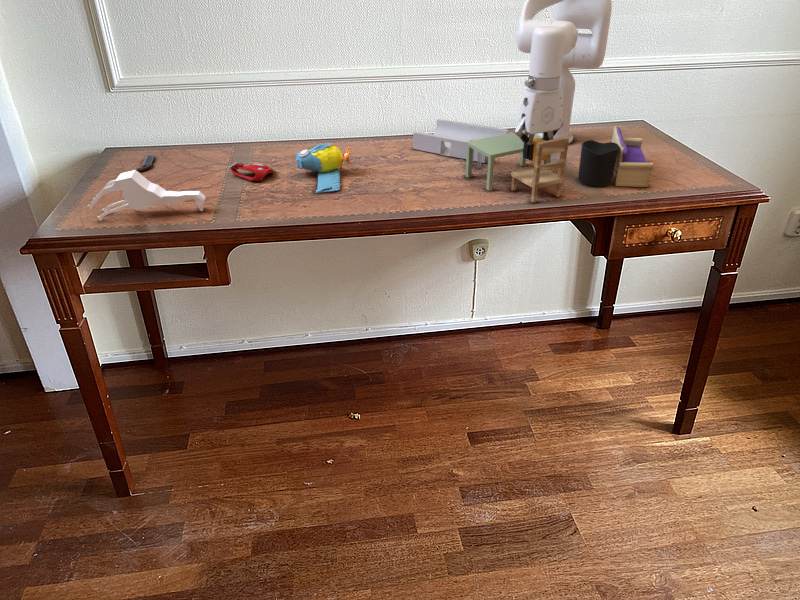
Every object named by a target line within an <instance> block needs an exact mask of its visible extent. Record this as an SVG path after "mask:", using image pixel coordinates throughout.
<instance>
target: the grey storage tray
mask: <svg viewBox="0 0 800 600" xmlns="http://www.w3.org/2000/svg"><path fill="white" fill-rule="evenodd" d="M509 133H510V129H506V128H500V127H494V126H493V127H492V126H486V125H481V124H474V123H467V122H462V121H454V120H448V119H443V118H437V119H436V126H435V130H434V132H433V133H427V132H421V131H416V130H415V131H414V132H413V133H412V149H413V150H417V151H423V152H428V153H431V154H438V155H441V156H447V157H452V158H457V159H461V160H466V157H467V145H466V142H467V141H472V140H477V139H483V138H488V137H493V136H498V135H503V134H509ZM474 162H477V167H476V168H477V169H480V168H481V167H482V163H483V164H486V163H488V157H487V156H485V155H483V154H481V153H479V152H478V151H476V150H474V149H473V155H472V166H473V165H474Z"/></svg>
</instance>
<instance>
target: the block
mask: <svg viewBox="0 0 800 600" xmlns="http://www.w3.org/2000/svg"><path fill="white" fill-rule="evenodd" d="M543 141H545V140H543V139H541V138H535V139H533V142H532V144H533V145H534V148H533V157H532V160H529V161H530V162H532V163H534V162H535V153H536V144H537V143H538V142H543ZM547 159H548V155H544V156H542V160H541V162H543V161H544V160H547Z"/></svg>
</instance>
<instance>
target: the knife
mask: <svg viewBox="0 0 800 600" xmlns="http://www.w3.org/2000/svg"><path fill="white" fill-rule="evenodd" d="M154 159H155V155H152V154H149V153H147V154H146V156H145V158H144V160H143V162H142V166H141V167H138V168H137V167H136V169H135V170H137V171H138V172H139V173H140V172H144V171H145V172H146V171H147V170H150V168H151V167H152V166H153V162H154Z"/></svg>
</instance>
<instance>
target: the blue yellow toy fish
mask: <svg viewBox="0 0 800 600" xmlns="http://www.w3.org/2000/svg"><path fill="white" fill-rule="evenodd" d="M350 148H351V146H348V148H347V149H346V150H345V153H344V154H343V152H342V151H341V148H339V147H337V145H332V144H331V143H329V142H324V143H321V144H315V145H314V146H311V148H310V147H308V148H304V149H302V150H300V151H296V152H295V160H296V167H297V168H298V169H300V170H302V169H303V170H308V171H311V172H317V188H316V190H315V194H323V193H324V194H327V193H330V192H336V191H340V190H341V183H340V182H341V179H340V178H341V175H340V174H341V173H340V168H341V166H342V165H343V163H344V160H345V161H346V163H347V164H349V165H351V159H350V158H351V150H350Z"/></svg>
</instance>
